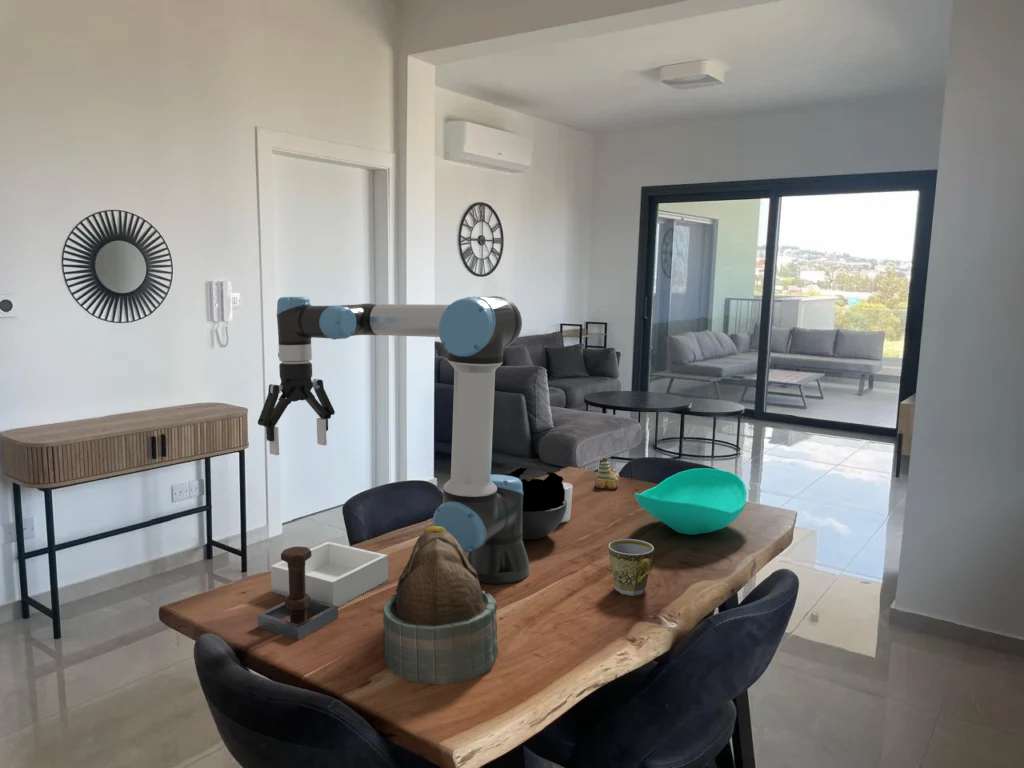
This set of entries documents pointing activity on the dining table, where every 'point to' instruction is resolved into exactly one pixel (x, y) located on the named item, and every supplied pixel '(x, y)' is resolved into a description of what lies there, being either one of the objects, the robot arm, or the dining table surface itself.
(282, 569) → the bin
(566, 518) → the white cup
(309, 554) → the bolt
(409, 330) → the robot arm
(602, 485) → the ornament
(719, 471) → the table top decor
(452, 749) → the dining table surface
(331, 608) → the socket collar
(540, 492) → the bowl of black rocks
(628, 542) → the ceramic cup
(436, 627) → the decorative pot
